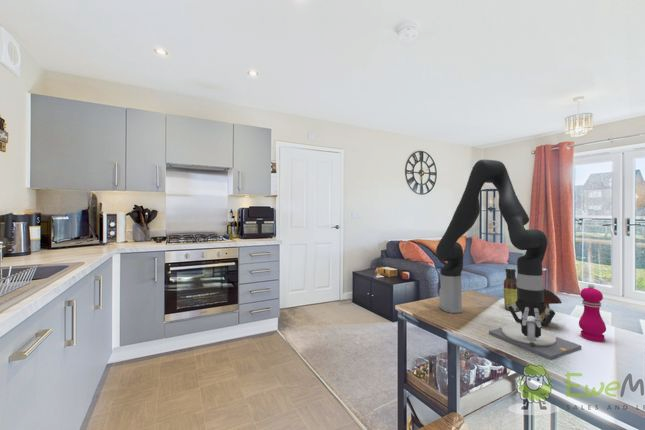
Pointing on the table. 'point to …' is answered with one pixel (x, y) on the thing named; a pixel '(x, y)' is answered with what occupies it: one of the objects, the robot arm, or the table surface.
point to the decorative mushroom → (549, 302)
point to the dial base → (548, 352)
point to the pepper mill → (592, 315)
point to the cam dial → (528, 334)
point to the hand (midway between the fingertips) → (531, 335)
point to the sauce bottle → (510, 288)
